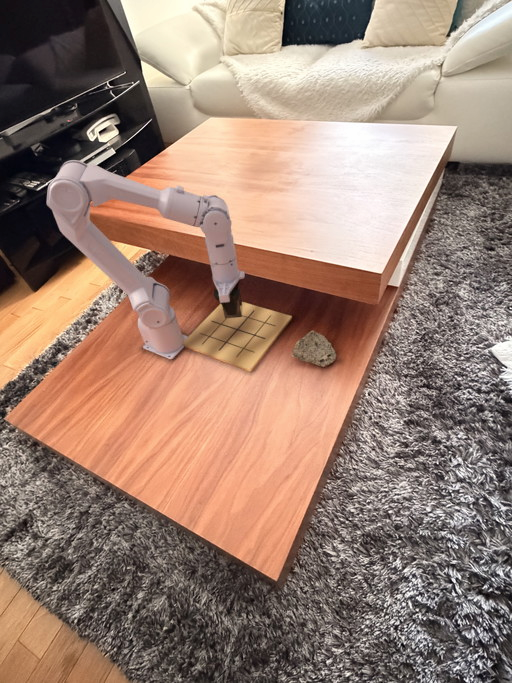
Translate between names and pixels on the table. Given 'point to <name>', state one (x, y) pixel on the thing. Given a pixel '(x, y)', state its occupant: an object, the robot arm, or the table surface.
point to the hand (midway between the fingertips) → (232, 308)
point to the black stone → (239, 309)
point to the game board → (238, 335)
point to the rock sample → (314, 350)
